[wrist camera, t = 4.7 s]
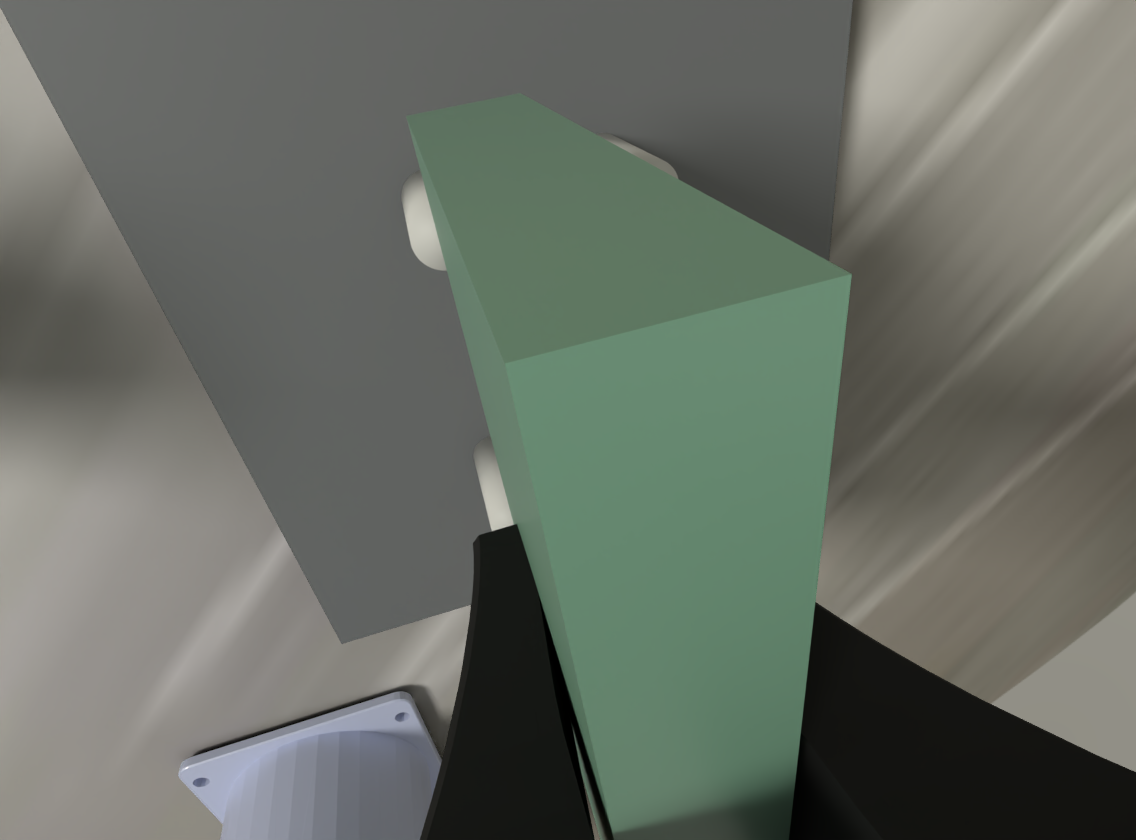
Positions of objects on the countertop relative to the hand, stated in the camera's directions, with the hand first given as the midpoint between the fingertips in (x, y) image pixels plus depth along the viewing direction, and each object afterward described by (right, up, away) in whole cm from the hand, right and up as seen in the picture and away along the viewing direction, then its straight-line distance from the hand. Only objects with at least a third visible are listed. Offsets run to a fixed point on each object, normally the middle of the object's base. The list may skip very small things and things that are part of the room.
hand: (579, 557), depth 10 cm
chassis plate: (-1, +5, +7) cm, 9 cm away
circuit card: (-1, +1, +2) cm, 3 cm away
